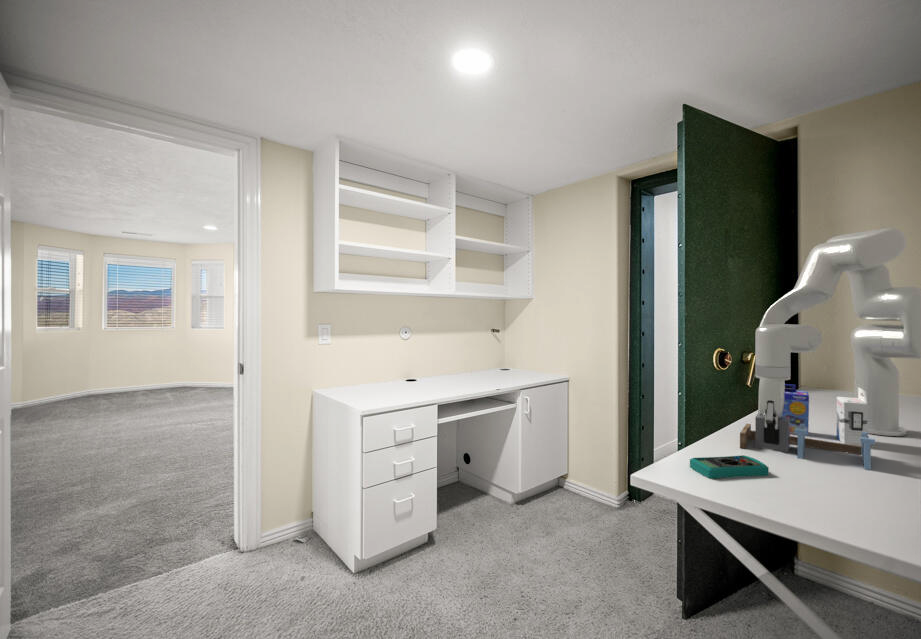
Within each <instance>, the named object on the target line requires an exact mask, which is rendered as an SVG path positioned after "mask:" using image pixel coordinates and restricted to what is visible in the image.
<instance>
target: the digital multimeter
mask: <svg viewBox="0 0 921 639" xmlns="http://www.w3.org/2000/svg"><path fill="white" fill-rule="evenodd" d="M689 468H690V469H692V470H694V471H695V472H697V473H698V474H700V475H702V476H703V477H706V478H708V479H709V480H710V479H711V480H712V479H713V480H714V479H725V478H740V477H741V478H743V477H767V476H769V470H770V469H769V466H768V465H766V464H765V463H764V462H762V461H760V460H758V459H756V458H754V457H750V456H748V455H742V454H741V455H730V456H714V457H713V456H709V457H708V456H706V457H704V456H703V457H692V458H689Z"/></svg>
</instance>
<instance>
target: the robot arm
mask: <svg viewBox="0 0 921 639" xmlns="http://www.w3.org/2000/svg"><path fill="white" fill-rule="evenodd" d="M906 245H907V240H906V236H905V235H904V233H903V232H901V231H900V230H898V229H897V228H891V227H889V228H880V229H872V230H867V231H859V232H852V233H845V234H841V235H836V236H833V237H831V238H829V239H827V240H826V242H823V243H820V244H817V245H815V246H814V247H813V248H812V249H811V250H810V251H809V254H808V256H807V258H806V260H805V262H804V264H803V268H802V270H801V272H800V274H799V277H798V279H797V281H796V283H795V285H794V287H793V289H791V290H790V291H788V292H787V293H785V294H784V295H783V296H782V297H780V298H778V300H777V301H775V302H774V303H773V304H772V305H770V306H769V308H768V309H767V310H766V311H765V313H764V315H763V317H762V319H761V321H760V323H759V326H758V327H757V328H756V329H755V334H754V336H755V342H754V343H755V352H754V354H755V355H754V356H755V364H754V365H755V367H754V368H755V369H754V370H755V372H754V373H755V374H754V375H755V378H756V379H759V383H758V385H759V386H758V403H757V404H758V409H757V414H758V415H760V416H761V415H765V427H764V442H765V443H770V444H776V445H778V444H779V429H778V418H780V417H781V416H782V413H783V408H784V397H785V388H786V386H785V384H786V383H785V381H789V380H791V376H792V375H791V353H797V354H808V353H812V352H814V351H816V350H818V349H819V348H820V347H821V345H822V342H823V336H822V333H821V332H820V330H819V329H817V328H816V327H814V326H811V325H808V324H791V323H790V324H789V323H786V322H788V320H789V319H791V318H792V317H793V316H794V315H797V314H798V313H801V312H802V311H805V310H808V309H811V308H814V307H817V306H819V305H822V304H825V303H826V302H828V301H830V300H831V299H832V298H833V296H834V293H835V290H836V287H837V286H838V283H839V281H840V278H841V276H842V274H843V273H846V274H847V275H848V279H849V285H850V291H851V292H850V293H851V299H852V300H851V301H852V306H853V312H854V314H855V316H856V317H857V318H859V319H862V320H866V321H881V322H882V321H883V322H884V321H885V322H886V321H889V322H891V321H892V322H894V321H895V322H896V321H897V322H901V324H893V323H891V324H888V323H887V324H885V323H869V324H867V323H866V324H862V325H859V326H857V327H856V328H853V330H852V331H851V334H850V338H849V339H850V340H849V341H850V345H851V350H852V353H853V361H854V362H853V363H854V398H858V387H859V388H861V389H862V390H864V391H866V392H867V433H868V434H871V435H877V436H888V437H889V436H890V437H902V436H906V435H907V432H908V431H907V429H905V428H903V427H900V378H901V377H900V376H901V375H900V371H899V368H898V367H897V366H896V364H895V362H893V361H892V359H891V358H893V359H904V360H905V359H906V360H921V288H920V287H916V286H896V287H895V286H893V285H892V283H891V278H890V271H889V269H888V267H887V266H886V263H888V262H891V261H894V260H895V259H897V258H899V257H900V256H901V255H902V254H903V252H904V251H905V249H906V247H907V246H906ZM785 323H786V324H785ZM861 395H862V396H863V397H864V395H863V393H861ZM773 416H776V417H773ZM773 419H775V420H773Z"/></svg>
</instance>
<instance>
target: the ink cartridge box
mask: <svg viewBox="0 0 921 639" xmlns="http://www.w3.org/2000/svg"><path fill="white" fill-rule="evenodd" d="M788 387H789V388H788ZM796 388H797V387H796V384H790V383H789V384H788V383H785V397H784V408H783V413H782V416H781V417H786V418H790V435H794V436H796V435H797V436H798V434H796V433H794V428H797V429H799V426H800V424H805V430H807V435H805V437H808V436H809V435H810V433H809V421H810V420H809V418H810V417H809V416H810V414H809V413H810V395H809V392H808V391H805V390H797V389H796Z"/></svg>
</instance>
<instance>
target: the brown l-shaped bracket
mask: <svg viewBox="0 0 921 639" xmlns="http://www.w3.org/2000/svg"><path fill="white" fill-rule="evenodd" d="M751 426H752V425H751V423H746V424H745V425H744V426H743V428H742V429H741V431H740V432H739V449H746V447H747V445H748V444H749V442H750V440H751V439H754V440H755V430H752V427H751ZM792 444H793V445H792ZM790 445H792V446H794V445H795V446H798V436H795V435H794V436H792V435H790ZM805 446H806V447H807V448H812V447H813V448H812V449H818V448H820V449H819V450H825V449H826V450H825V451H831V450H833V451H832V452H838V451H841V452H840V453H844V452H848V453H847V454H851V453H853V454H852V455H857V454H859V456H861V446H856V445H849V444H843V443H842V442H841V443H840V442H836V441H835V442H834V441H828V440H820V439H814V438H808V437H807V438H806V437H805ZM806 447H805V448H806Z"/></svg>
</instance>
